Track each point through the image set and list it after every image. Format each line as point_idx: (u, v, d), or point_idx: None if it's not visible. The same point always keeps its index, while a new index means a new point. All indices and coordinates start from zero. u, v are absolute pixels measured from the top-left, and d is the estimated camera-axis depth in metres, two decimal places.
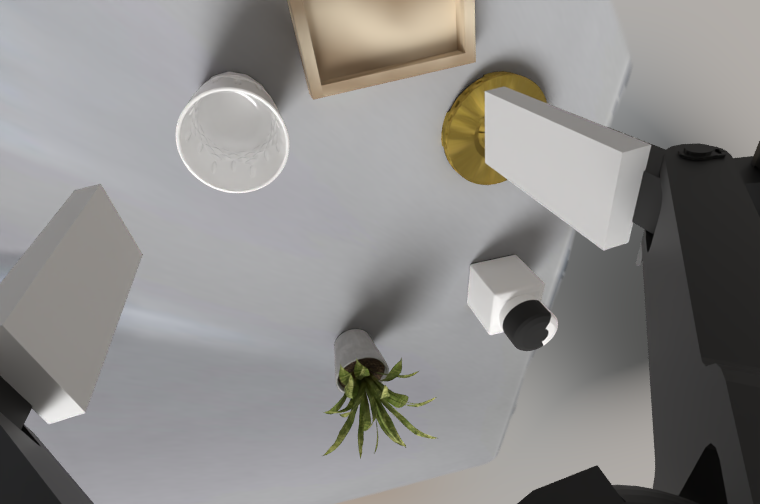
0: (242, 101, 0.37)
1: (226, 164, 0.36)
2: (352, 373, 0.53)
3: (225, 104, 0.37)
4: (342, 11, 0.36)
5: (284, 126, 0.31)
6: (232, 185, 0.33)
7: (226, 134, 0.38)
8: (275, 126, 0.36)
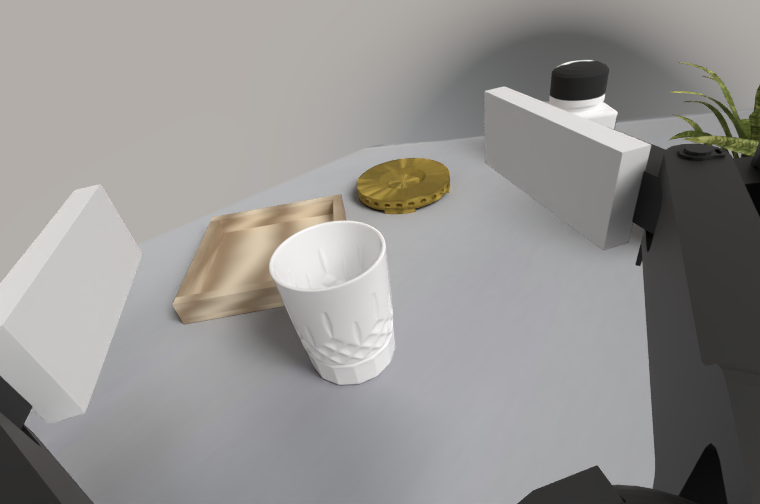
0: None
1: None
2: None
3: None
4: None
5: (322, 223, 0.31)
6: None
7: None
8: None
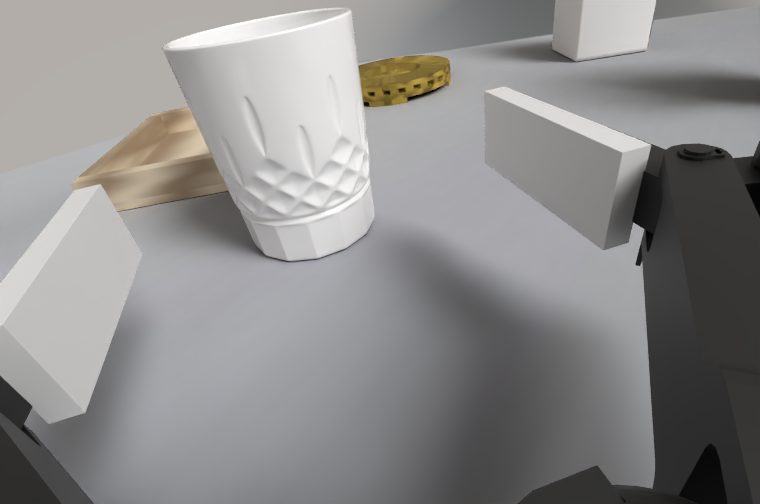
0: None
1: None
2: None
3: None
4: None
5: (261, 18, 0.21)
6: None
7: None
8: None
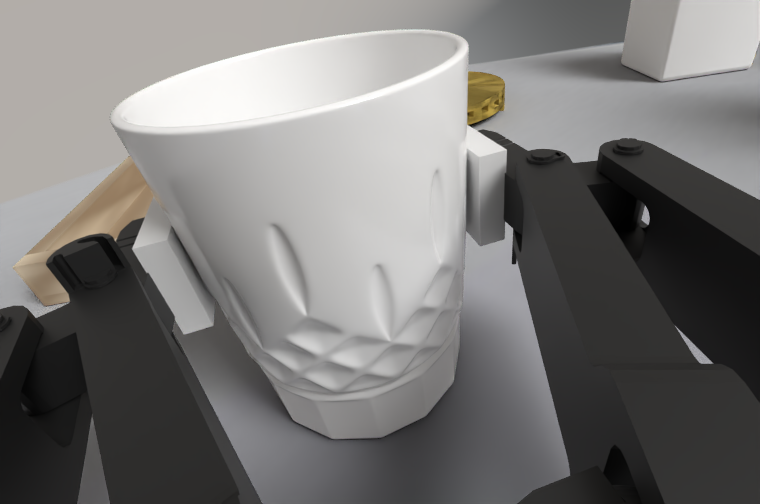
0: None
1: None
2: None
3: None
4: None
5: (289, 44, 0.13)
6: None
7: None
8: None
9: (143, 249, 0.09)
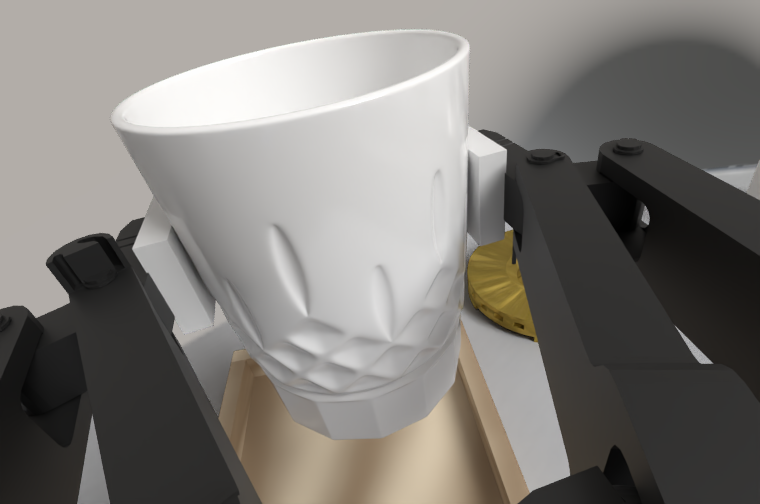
0: None
1: None
2: None
3: None
4: None
5: (289, 44, 0.13)
6: None
7: None
8: None
9: (143, 249, 0.09)
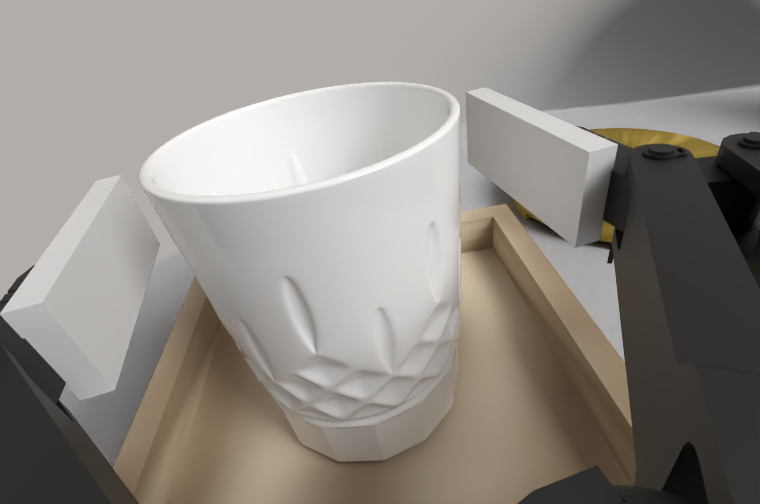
0: None
1: None
2: None
3: None
4: (440, 462, 0.13)
5: (295, 93, 0.14)
6: None
7: None
8: None
9: (13, 314, 0.08)
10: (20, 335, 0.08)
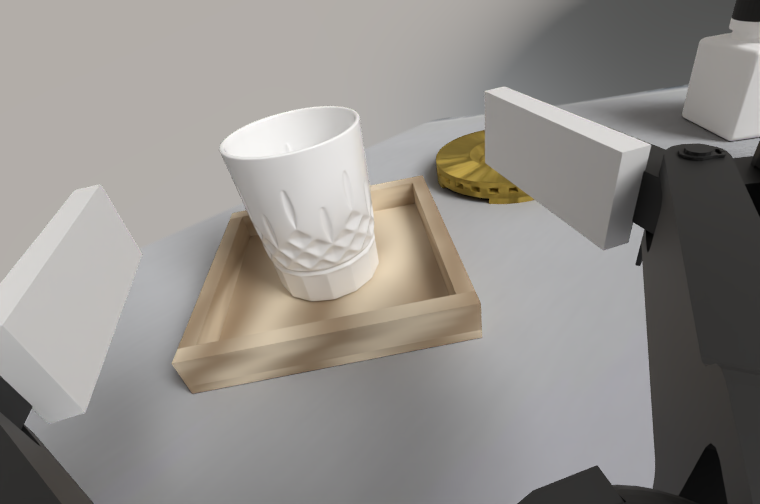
0: None
1: None
2: None
3: None
4: (362, 297, 0.26)
5: (288, 111, 0.26)
6: None
7: None
8: None
9: None
10: None
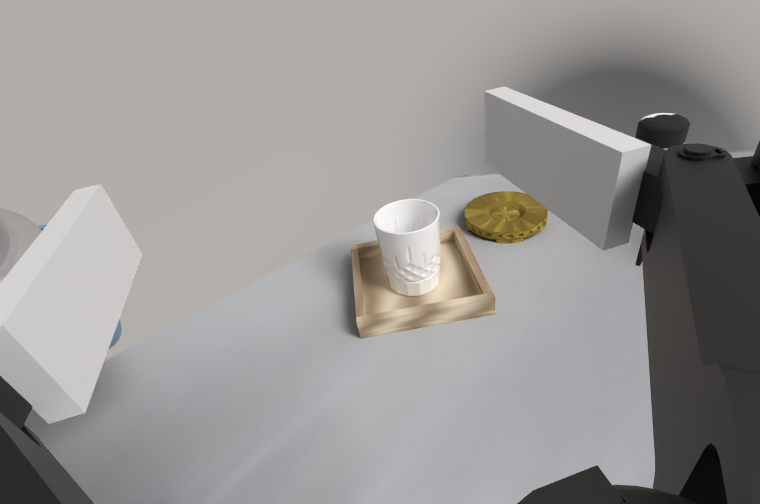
0: None
1: None
2: None
3: None
4: (434, 294, 0.52)
5: None
6: None
7: None
8: None
9: None
10: None
